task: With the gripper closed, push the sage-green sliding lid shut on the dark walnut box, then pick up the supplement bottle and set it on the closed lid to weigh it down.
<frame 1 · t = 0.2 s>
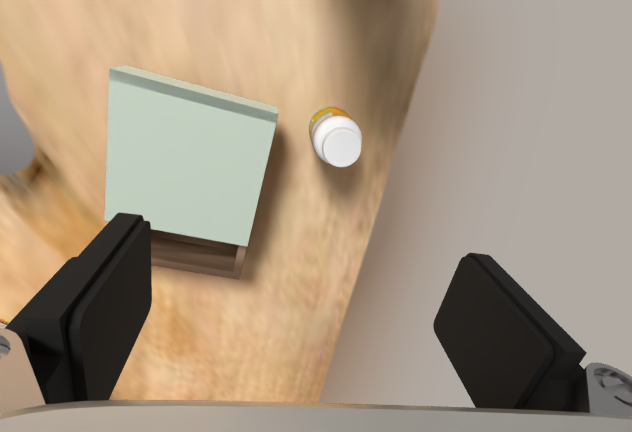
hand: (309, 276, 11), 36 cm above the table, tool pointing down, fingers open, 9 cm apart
walnut box: (193, 197, 47), on the table
supplement bottle: (329, 127, 45), on the table
lid: (191, 163, 39), point 5 cm above the table, slide at 6.0 cm
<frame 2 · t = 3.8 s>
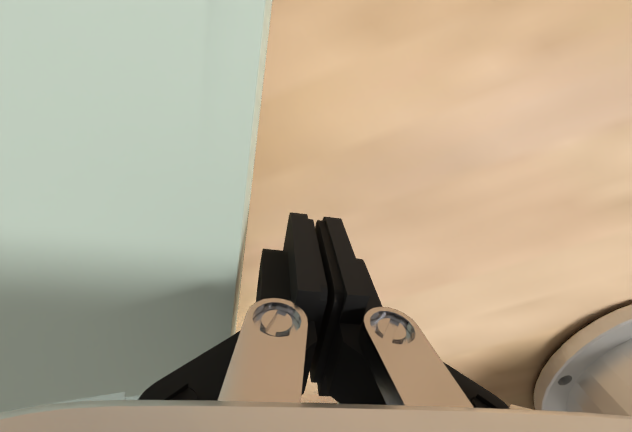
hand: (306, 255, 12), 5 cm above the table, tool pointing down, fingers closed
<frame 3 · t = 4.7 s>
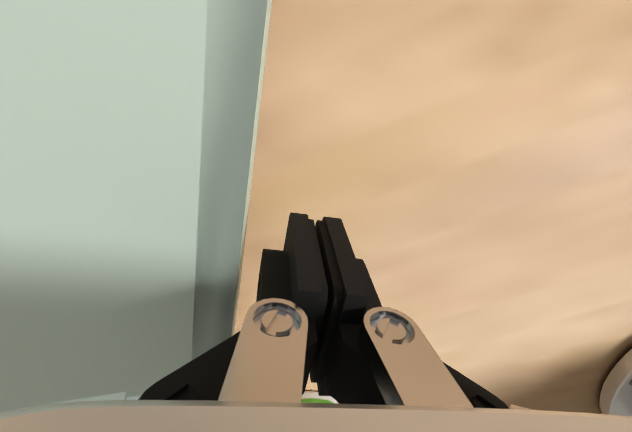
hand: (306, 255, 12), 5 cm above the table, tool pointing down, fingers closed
supplement bottle: (304, 413, 23), on the table
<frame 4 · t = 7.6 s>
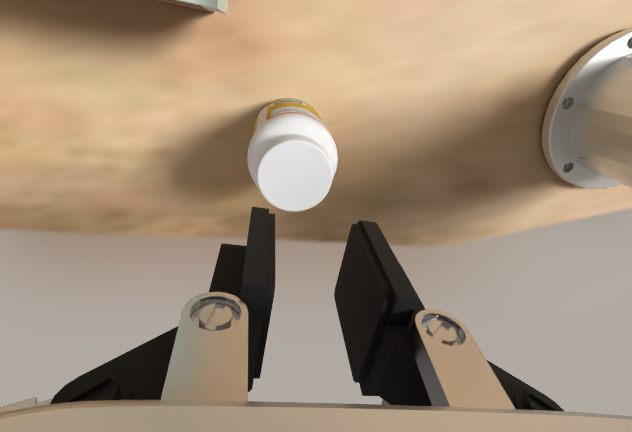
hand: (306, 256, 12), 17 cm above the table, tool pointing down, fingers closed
supplement bottle: (288, 133, 27), on the table
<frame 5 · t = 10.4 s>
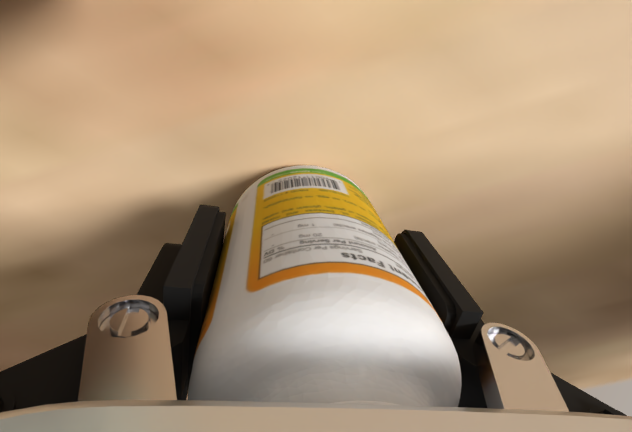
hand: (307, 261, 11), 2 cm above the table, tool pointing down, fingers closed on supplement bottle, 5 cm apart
supplement bottle: (302, 228, 13), on the table, touching gripper
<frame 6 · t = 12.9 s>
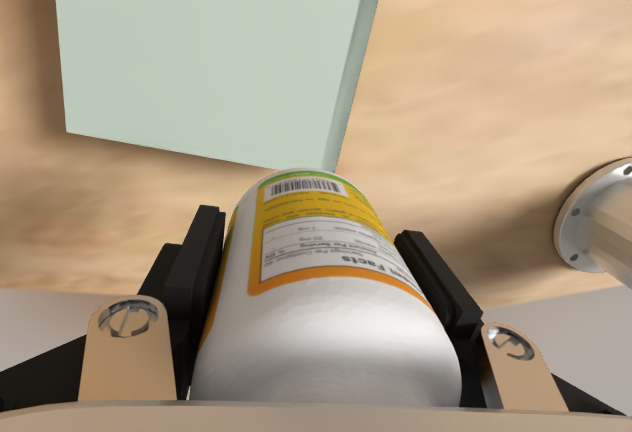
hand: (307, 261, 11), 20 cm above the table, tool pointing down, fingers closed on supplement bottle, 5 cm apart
supplement bottle: (302, 230, 13), point 18 cm above the table, touching gripper
lid: (226, 17, 21), point 5 cm above the table, slide at 0.0 cm
when the fingers open (11 cm above the table, at t = 15.4 s): supplement bottle drops 2 cm, resting on lid.
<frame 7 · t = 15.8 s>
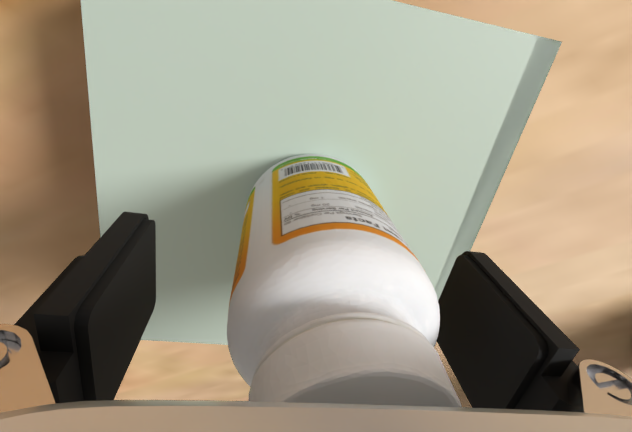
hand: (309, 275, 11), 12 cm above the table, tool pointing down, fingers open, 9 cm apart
supplement bottle: (309, 210, 15), point 7 cm above the table, touching lid
lid: (302, 191, 17), point 5 cm above the table, slide at 0.1 cm, touching supplement bottle
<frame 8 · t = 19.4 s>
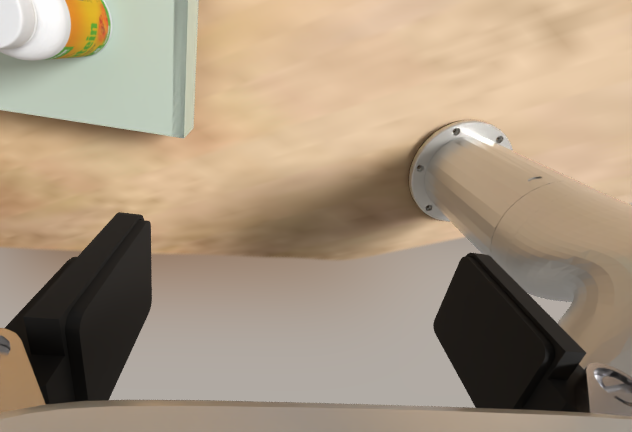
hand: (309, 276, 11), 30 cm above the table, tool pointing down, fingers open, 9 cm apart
supplement bottle: (76, 16, 26), point 7 cm above the table, touching lid
lid: (84, 15, 28), point 5 cm above the table, slide at 0.1 cm, touching supplement bottle
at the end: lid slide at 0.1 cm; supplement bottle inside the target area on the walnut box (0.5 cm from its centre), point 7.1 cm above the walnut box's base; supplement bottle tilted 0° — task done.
